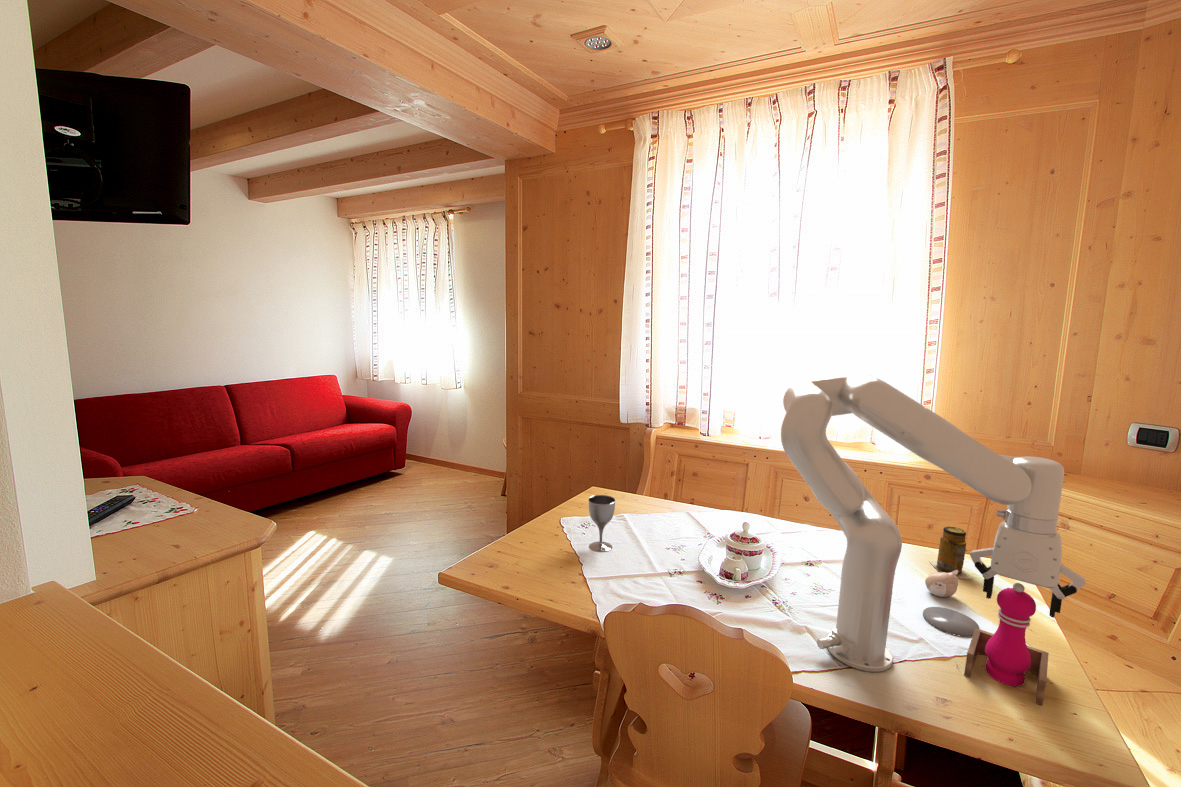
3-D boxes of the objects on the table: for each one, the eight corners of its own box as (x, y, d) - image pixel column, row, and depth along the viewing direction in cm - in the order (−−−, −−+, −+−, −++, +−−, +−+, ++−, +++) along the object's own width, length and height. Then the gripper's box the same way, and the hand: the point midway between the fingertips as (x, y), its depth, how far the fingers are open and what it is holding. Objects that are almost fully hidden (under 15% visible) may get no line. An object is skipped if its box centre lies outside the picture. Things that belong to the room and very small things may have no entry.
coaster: (955, 640, 117) (955, 637, 117) (911, 612, 127) (912, 610, 127) (990, 632, 120) (991, 629, 120) (945, 606, 131) (946, 603, 130)
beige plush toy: (943, 603, 132) (947, 574, 130) (919, 591, 138) (922, 562, 136) (960, 598, 134) (964, 569, 133) (936, 586, 140) (940, 558, 139)
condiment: (956, 565, 152) (962, 526, 150) (972, 579, 144) (978, 538, 142) (929, 562, 154) (934, 523, 152) (942, 576, 145) (948, 535, 143)
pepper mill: (1035, 691, 101) (1052, 595, 98) (993, 685, 103) (1008, 590, 100) (1014, 666, 108) (1029, 576, 105) (975, 661, 110) (988, 572, 107)
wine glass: (586, 541, 162) (587, 495, 160) (611, 540, 163) (613, 494, 161) (588, 553, 155) (590, 504, 152) (615, 552, 155) (617, 504, 153)
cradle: (963, 675, 106) (967, 652, 105) (972, 648, 114) (975, 627, 113) (1042, 706, 98) (1046, 681, 97) (1044, 675, 106) (1048, 652, 105)
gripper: (972, 516, 103) (963, 596, 106) (1093, 541, 92) (1079, 631, 94) (977, 505, 109) (968, 582, 111) (1092, 528, 97) (1079, 613, 100)
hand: (1019, 604), depth 103 cm, fingers open, 9 cm apart
